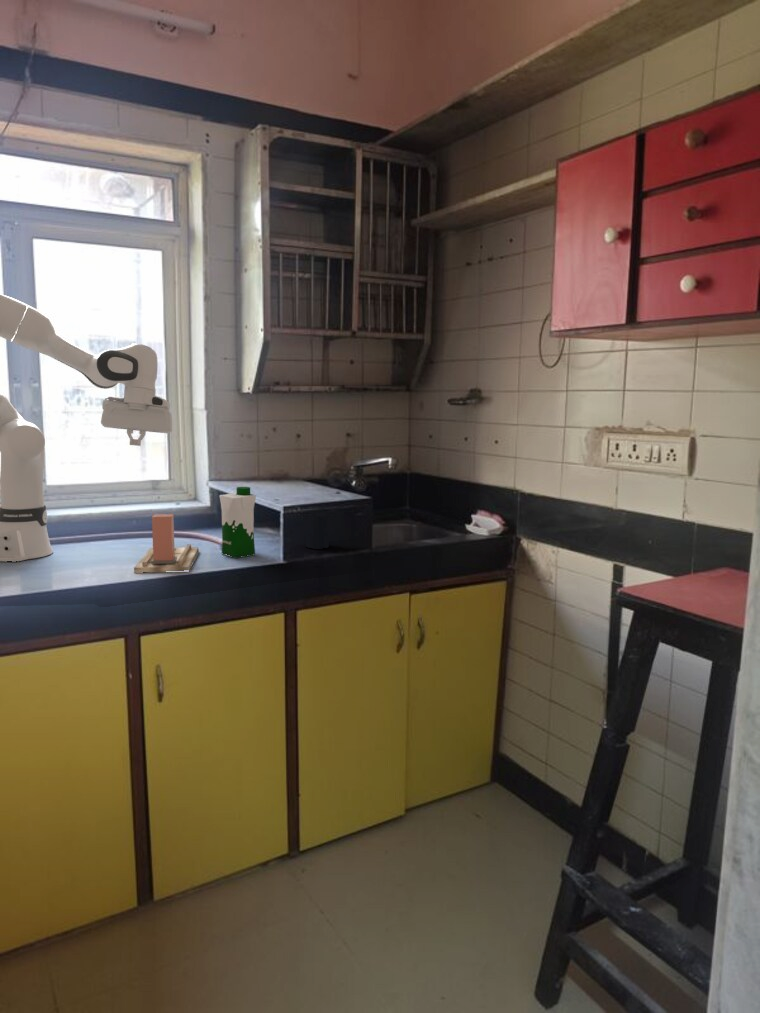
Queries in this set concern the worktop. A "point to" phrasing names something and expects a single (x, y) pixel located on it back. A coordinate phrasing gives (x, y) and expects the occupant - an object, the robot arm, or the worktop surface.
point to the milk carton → (238, 523)
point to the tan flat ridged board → (182, 563)
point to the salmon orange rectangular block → (163, 539)
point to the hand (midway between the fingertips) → (135, 445)
